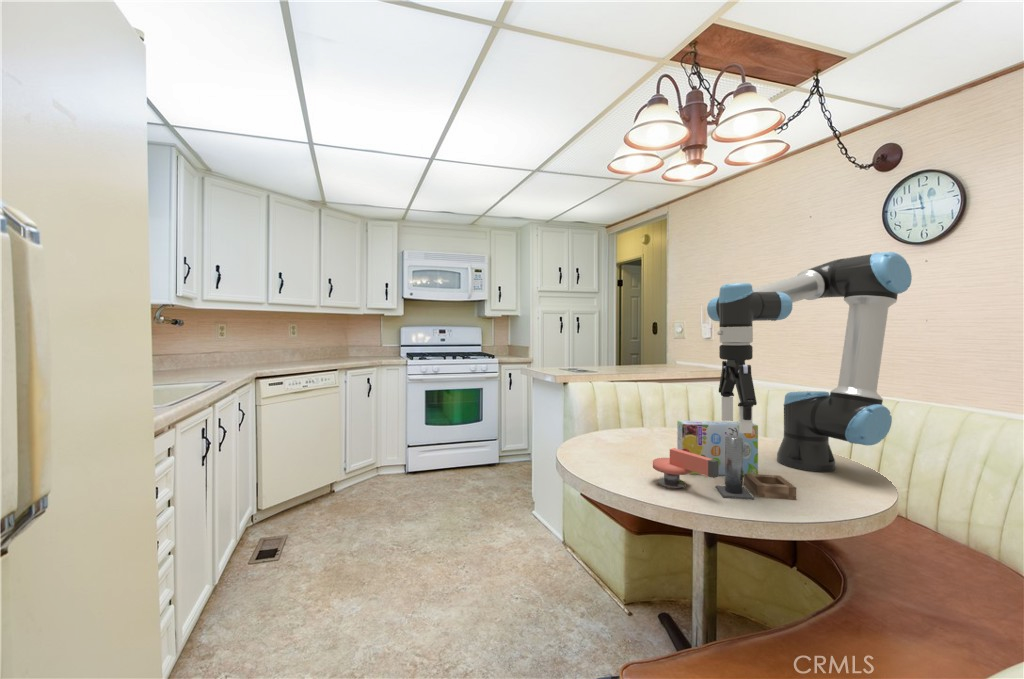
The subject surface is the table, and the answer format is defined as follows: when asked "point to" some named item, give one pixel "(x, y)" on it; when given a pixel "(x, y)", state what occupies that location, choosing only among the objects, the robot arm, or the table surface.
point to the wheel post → (671, 481)
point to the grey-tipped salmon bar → (686, 464)
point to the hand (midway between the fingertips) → (736, 426)
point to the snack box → (717, 442)
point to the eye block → (769, 486)
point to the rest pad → (736, 496)
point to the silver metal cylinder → (734, 464)
